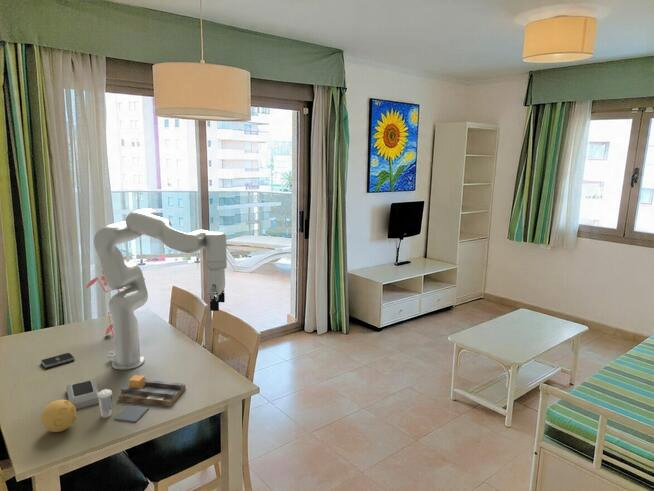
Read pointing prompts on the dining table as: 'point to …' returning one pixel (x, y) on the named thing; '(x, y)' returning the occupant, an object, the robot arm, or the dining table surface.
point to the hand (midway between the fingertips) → (217, 306)
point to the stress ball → (58, 415)
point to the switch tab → (137, 382)
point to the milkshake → (105, 402)
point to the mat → (131, 413)
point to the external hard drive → (57, 360)
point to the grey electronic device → (83, 393)
